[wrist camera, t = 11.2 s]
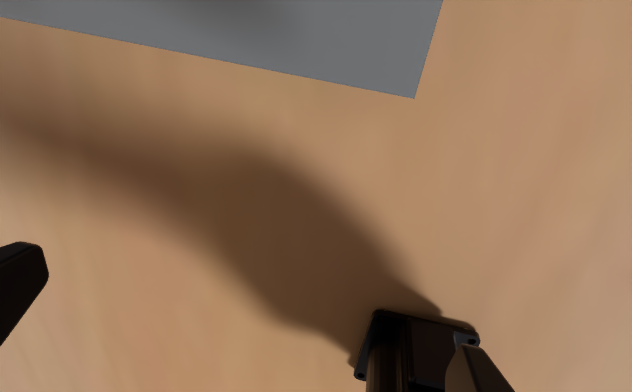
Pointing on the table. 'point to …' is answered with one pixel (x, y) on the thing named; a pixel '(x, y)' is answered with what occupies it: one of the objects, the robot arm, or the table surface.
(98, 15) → the hole board
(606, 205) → the table surface
